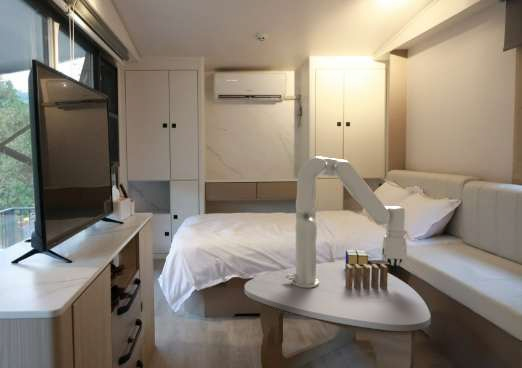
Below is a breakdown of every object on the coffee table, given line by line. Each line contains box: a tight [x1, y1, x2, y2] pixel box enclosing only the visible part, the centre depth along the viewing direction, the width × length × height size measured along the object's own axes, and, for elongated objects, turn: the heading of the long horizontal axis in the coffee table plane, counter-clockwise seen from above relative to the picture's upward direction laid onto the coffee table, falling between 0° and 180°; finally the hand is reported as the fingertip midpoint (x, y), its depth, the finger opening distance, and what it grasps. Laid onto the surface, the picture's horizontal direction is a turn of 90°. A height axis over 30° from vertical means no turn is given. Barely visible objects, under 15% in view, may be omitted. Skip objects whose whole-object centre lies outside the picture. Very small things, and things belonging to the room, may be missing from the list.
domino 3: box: [362, 264, 371, 290], centre depth 159 cm, size 2×5×10 cm, turn 2°
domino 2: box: [353, 264, 362, 290], centre depth 159 cm, size 2×5×10 cm, turn 2°
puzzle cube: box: [345, 249, 369, 276], centre depth 180 cm, size 10×10×10 cm
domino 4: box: [370, 263, 380, 290], centre depth 159 cm, size 2×5×10 cm, turn 2°
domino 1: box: [345, 263, 354, 290], centre depth 159 cm, size 2×5×10 cm, turn 2°
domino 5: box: [379, 263, 389, 290], centre depth 159 cm, size 2×5×10 cm, turn 2°
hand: (393, 273), depth 159 cm, fingers closed
